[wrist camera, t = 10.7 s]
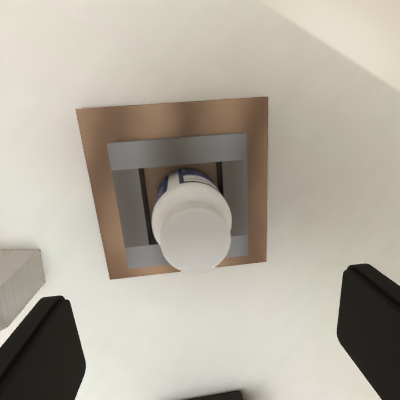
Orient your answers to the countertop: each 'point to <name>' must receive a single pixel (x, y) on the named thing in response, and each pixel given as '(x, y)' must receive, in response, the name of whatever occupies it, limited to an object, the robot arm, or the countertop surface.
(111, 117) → the mount
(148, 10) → the countertop surface
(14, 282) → the grey upright pouch
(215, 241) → the pill bottle
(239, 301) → the countertop surface
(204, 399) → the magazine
